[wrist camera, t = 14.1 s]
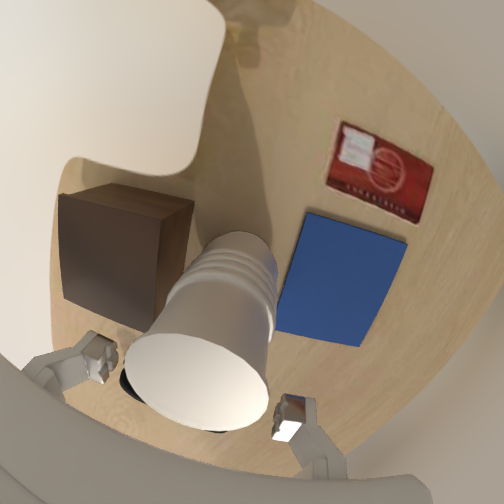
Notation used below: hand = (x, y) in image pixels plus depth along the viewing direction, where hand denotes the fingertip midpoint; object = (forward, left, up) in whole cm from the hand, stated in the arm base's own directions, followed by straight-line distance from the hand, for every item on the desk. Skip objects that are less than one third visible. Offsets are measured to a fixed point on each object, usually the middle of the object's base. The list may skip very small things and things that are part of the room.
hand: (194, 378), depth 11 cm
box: (0, -10, -14) cm, 17 cm away
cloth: (0, +9, -14) cm, 17 cm away
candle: (0, 0, -15) cm, 15 cm away
